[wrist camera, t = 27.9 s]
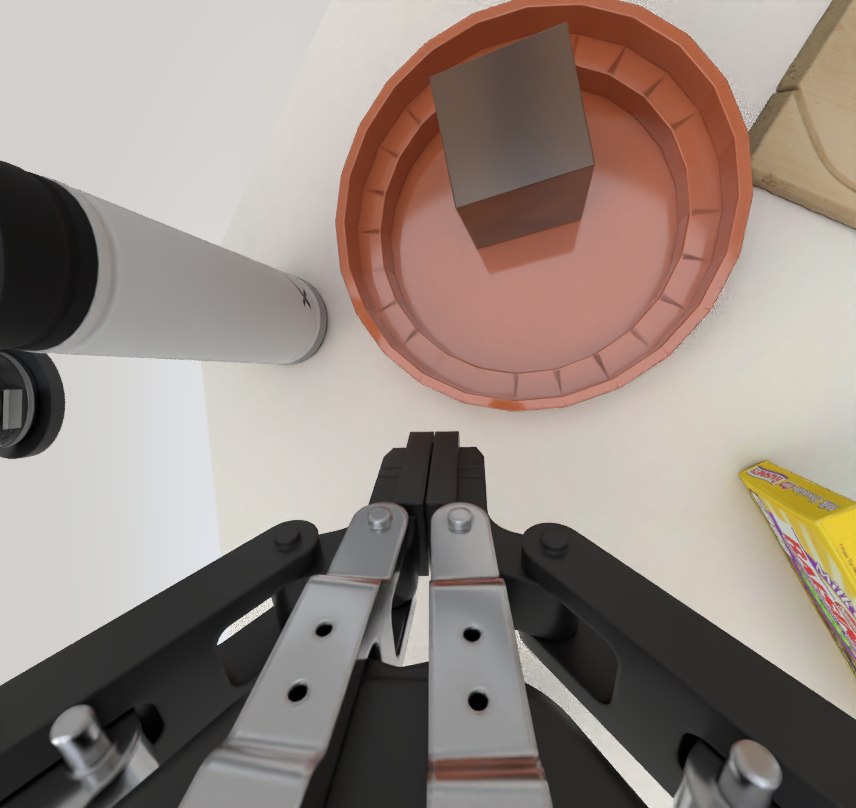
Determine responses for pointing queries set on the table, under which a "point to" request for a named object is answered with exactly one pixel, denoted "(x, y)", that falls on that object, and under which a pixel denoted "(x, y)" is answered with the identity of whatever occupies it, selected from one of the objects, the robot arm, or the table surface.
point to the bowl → (559, 246)
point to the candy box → (813, 544)
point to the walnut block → (516, 138)
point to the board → (814, 123)
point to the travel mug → (138, 285)
